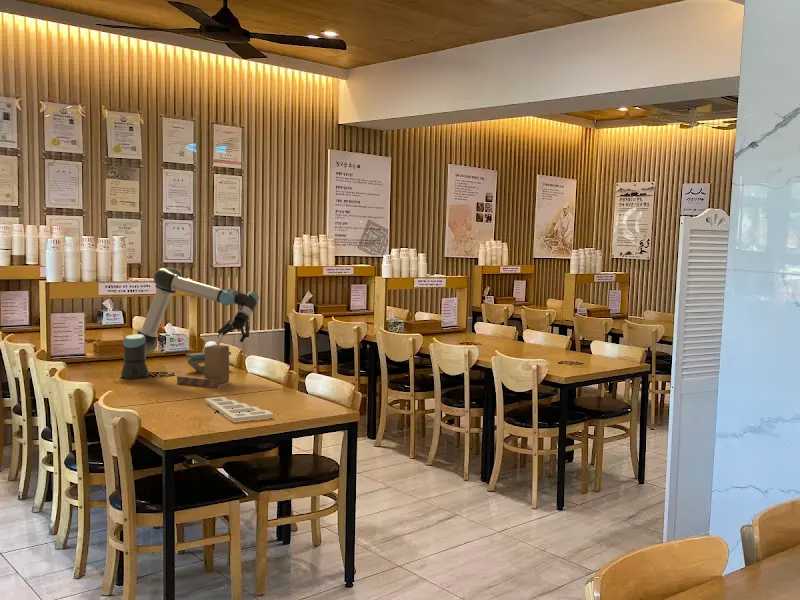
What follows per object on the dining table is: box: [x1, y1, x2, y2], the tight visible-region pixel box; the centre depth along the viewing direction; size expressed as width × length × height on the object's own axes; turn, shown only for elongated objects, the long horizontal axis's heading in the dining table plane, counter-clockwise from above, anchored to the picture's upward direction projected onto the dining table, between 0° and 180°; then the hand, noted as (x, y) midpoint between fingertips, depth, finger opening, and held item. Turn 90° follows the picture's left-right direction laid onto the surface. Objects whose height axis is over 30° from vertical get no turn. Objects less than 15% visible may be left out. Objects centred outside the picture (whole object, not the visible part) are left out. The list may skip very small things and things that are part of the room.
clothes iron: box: [185, 351, 232, 373], centre depth 440 cm, size 25×8×11 cm, turn 128°
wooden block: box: [203, 344, 230, 384], centre depth 401 cm, size 10×10×20 cm
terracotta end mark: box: [219, 381, 234, 387], centre depth 401 cm, size 13×12×1 cm
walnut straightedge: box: [176, 375, 219, 388], centre depth 396 cm, size 25×3×4 cm, turn 67°
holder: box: [204, 396, 274, 421], centre depth 337 cm, size 45×18×3 cm, turn 30°
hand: (227, 345), depth 410 cm, fingers open, 13 cm apart
